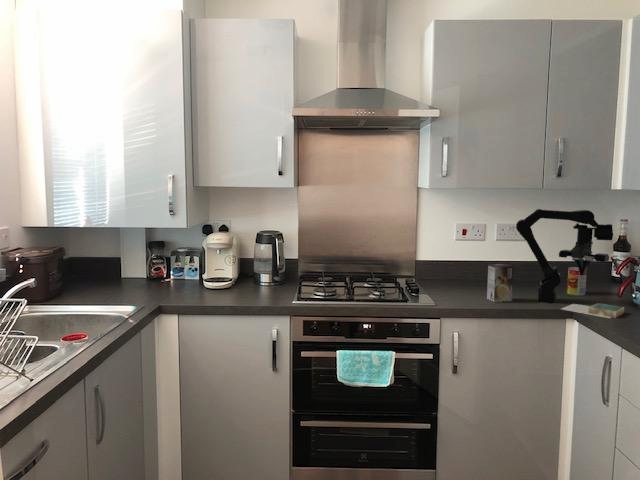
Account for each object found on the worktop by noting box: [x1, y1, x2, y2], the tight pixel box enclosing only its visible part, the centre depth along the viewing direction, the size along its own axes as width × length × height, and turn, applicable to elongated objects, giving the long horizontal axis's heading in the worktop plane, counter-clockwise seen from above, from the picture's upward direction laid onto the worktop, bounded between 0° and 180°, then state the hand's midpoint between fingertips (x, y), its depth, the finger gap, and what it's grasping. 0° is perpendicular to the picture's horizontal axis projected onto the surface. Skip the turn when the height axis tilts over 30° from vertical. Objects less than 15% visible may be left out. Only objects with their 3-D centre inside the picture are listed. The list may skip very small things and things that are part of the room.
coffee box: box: [486, 263, 514, 303], centre depth 234 cm, size 9×6×16 cm
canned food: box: [566, 266, 588, 296], centre depth 249 cm, size 8×8×12 cm
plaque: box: [588, 302, 625, 319], centre depth 211 cm, size 3×10×10 cm
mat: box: [561, 303, 613, 319], centre depth 216 cm, size 19×14×1 cm
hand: (582, 275), depth 226 cm, fingers closed
